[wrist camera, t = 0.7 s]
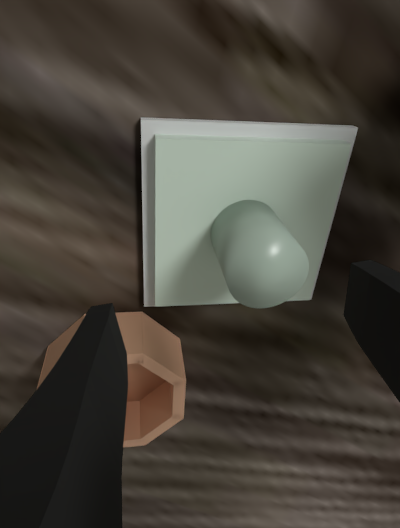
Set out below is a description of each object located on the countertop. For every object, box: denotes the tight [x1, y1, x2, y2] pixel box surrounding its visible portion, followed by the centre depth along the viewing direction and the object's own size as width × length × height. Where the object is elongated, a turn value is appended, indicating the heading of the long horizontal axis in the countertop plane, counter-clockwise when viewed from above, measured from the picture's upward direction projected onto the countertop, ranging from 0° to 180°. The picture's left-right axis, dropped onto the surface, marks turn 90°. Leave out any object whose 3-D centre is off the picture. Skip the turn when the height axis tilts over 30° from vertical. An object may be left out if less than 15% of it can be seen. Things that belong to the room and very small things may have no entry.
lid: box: [154, 134, 351, 308], centre depth 18 cm, size 9×9×5 cm
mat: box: [141, 117, 358, 307], centre depth 20 cm, size 10×10×1 cm
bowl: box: [37, 312, 186, 447], centre depth 23 cm, size 8×8×4 cm
